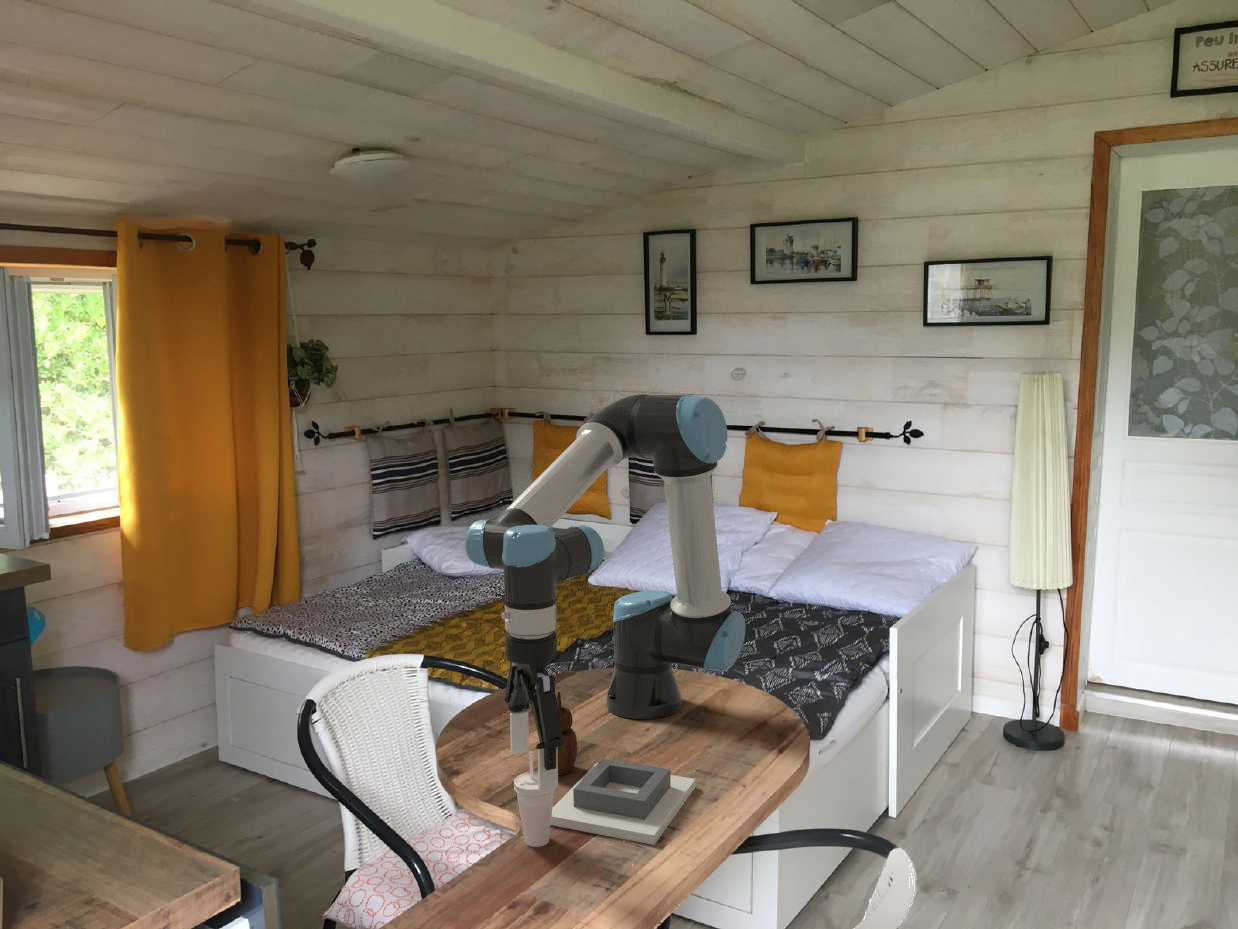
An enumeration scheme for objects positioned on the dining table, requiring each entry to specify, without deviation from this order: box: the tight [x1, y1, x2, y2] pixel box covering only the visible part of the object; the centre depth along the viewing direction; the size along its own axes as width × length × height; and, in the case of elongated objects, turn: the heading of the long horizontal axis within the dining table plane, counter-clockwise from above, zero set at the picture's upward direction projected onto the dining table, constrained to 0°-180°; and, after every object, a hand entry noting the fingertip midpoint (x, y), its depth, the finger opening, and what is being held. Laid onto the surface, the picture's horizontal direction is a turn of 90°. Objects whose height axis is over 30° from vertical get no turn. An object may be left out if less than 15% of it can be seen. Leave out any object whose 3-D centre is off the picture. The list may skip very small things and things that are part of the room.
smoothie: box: [513, 750, 556, 848], centre depth 153 cm, size 6×6×14 cm
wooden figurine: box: [556, 691, 578, 776], centre depth 177 cm, size 7×6×15 cm
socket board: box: [551, 757, 697, 846], centre depth 165 cm, size 20×18×4 cm
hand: (533, 770), depth 152 cm, fingers open, 13 cm apart
